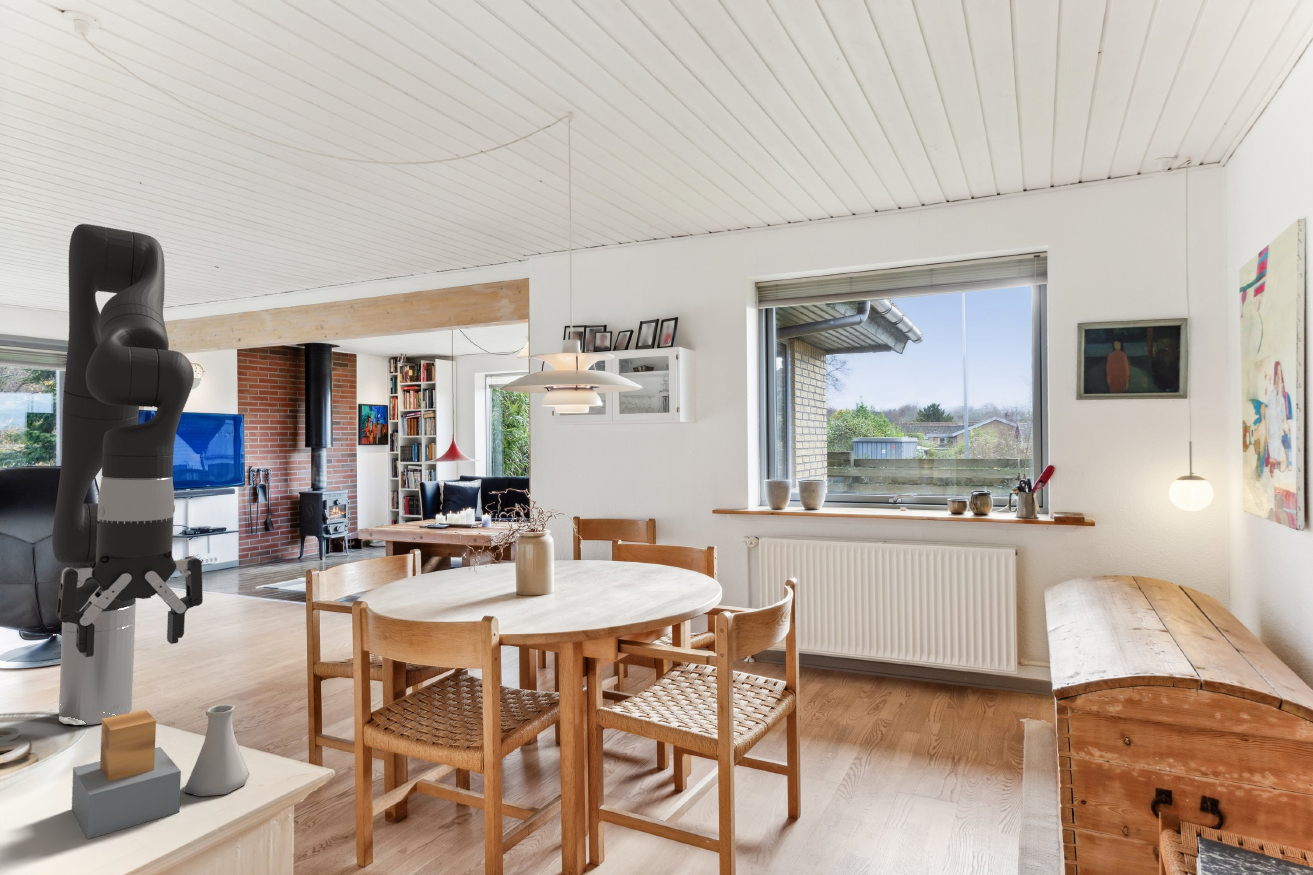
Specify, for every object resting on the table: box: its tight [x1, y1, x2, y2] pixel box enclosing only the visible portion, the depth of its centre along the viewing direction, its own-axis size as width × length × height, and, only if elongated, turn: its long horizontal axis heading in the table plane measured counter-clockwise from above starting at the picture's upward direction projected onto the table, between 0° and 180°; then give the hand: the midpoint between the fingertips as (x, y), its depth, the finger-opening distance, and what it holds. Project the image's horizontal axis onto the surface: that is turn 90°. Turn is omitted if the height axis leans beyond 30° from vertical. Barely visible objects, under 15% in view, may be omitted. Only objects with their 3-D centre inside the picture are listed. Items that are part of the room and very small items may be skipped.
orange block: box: [99, 709, 157, 781], centre depth 91 cm, size 4×4×6 cm
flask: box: [183, 703, 250, 797], centre depth 98 cm, size 7×7×10 cm
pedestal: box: [71, 746, 182, 840], centre depth 91 cm, size 9×9×5 cm
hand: (131, 648), depth 91 cm, fingers open, 8 cm apart
